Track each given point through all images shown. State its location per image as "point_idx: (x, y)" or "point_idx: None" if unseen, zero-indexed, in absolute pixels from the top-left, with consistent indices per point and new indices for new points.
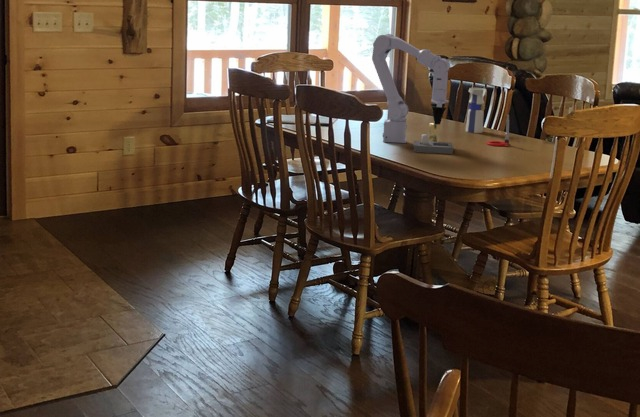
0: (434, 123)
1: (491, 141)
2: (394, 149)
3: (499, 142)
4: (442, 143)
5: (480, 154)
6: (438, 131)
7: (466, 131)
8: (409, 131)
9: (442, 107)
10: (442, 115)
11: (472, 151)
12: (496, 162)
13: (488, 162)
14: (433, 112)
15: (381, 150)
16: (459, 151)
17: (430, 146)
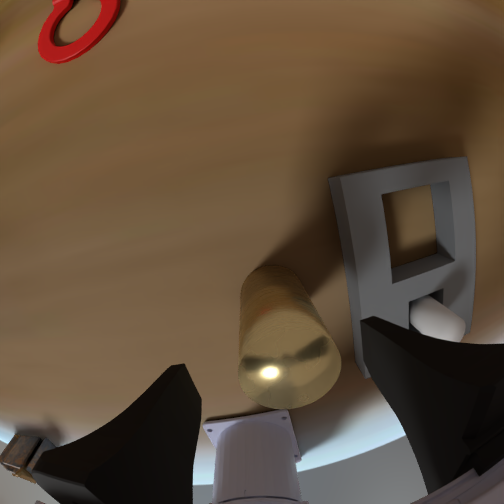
0: (284, 377)
1: (50, 48)
2: None
3: (55, 23)
4: (386, 229)
5: (386, 34)
6: (305, 304)
7: None
8: (36, 408)
9: (489, 422)
10: (443, 340)
11: (337, 62)
12: (470, 17)
13: (485, 41)
14: (192, 469)
15: None
16: (376, 126)
17: (475, 267)
